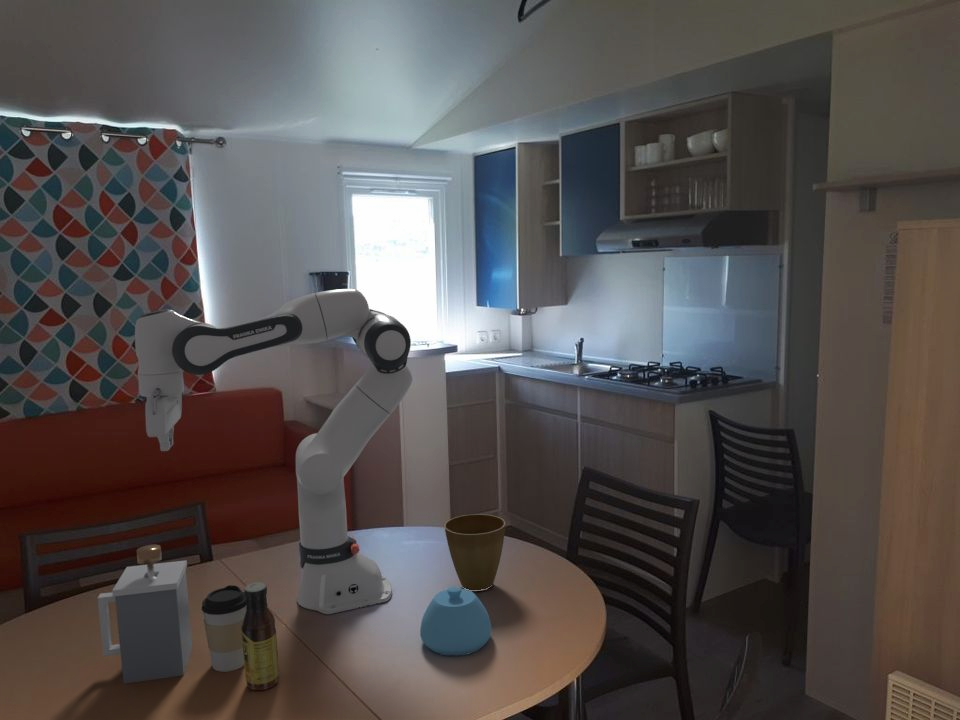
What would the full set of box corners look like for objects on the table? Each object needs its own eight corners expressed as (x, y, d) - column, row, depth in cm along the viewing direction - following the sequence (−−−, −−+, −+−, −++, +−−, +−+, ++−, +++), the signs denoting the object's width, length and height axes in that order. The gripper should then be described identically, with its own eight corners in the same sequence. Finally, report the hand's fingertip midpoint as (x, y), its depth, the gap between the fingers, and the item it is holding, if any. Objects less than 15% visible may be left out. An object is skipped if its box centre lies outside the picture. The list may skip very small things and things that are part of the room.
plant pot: (518, 580, 186) (516, 518, 184) (486, 604, 173) (484, 538, 171) (468, 569, 194) (466, 509, 192) (434, 591, 181) (432, 527, 179)
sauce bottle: (250, 675, 146) (242, 579, 143) (282, 673, 146) (275, 577, 144) (242, 694, 139) (234, 594, 137) (276, 692, 140) (269, 591, 137)
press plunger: (171, 643, 153) (162, 543, 150) (167, 653, 149) (158, 551, 146) (148, 646, 152) (139, 545, 149) (144, 657, 148) (134, 554, 145)
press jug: (194, 646, 158) (186, 560, 155) (185, 675, 147) (176, 583, 144) (114, 657, 154) (105, 569, 152) (98, 688, 143) (88, 593, 141)
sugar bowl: (500, 628, 162) (499, 578, 160) (478, 664, 148) (476, 609, 146) (436, 620, 167) (434, 570, 165) (409, 653, 152) (406, 600, 151)
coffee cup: (239, 676, 146) (233, 603, 144) (197, 672, 148) (191, 601, 146) (261, 652, 154) (256, 584, 153) (221, 649, 156) (216, 581, 154)
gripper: (168, 392, 150) (174, 458, 152) (184, 377, 170) (189, 437, 172) (134, 394, 149) (141, 461, 151) (155, 379, 169) (160, 439, 171)
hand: (167, 448), depth 161 cm, fingers open, 2 cm apart
